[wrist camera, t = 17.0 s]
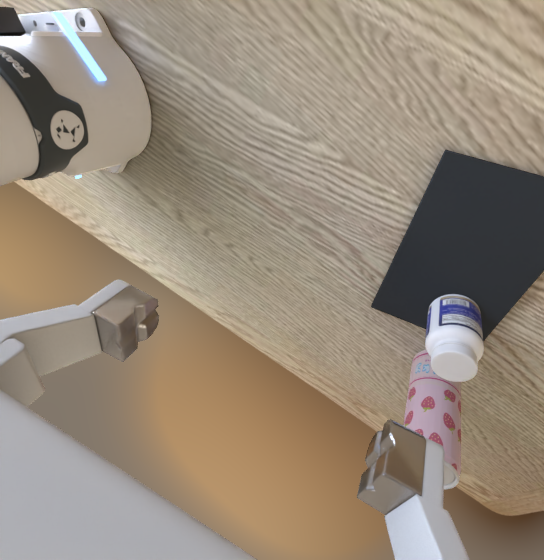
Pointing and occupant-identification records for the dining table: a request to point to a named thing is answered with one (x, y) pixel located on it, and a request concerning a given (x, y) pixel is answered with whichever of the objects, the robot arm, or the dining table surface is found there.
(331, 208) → the dining table surface
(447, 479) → the beverage can
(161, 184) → the dining table surface
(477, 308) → the pill bottle
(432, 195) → the felt mat
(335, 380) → the dining table surface
